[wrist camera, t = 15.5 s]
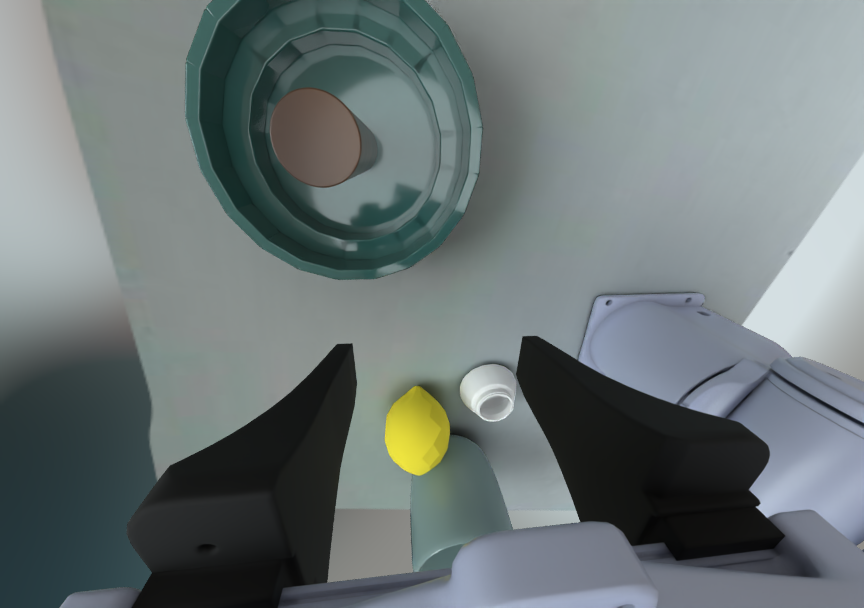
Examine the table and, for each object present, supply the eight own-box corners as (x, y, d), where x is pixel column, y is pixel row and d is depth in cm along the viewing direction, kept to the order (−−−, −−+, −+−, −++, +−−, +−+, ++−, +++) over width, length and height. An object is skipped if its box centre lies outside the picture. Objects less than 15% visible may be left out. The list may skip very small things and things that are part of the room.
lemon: (386, 493, 21) (384, 468, 27) (460, 484, 22) (445, 461, 27) (384, 390, 23) (383, 385, 28) (454, 386, 24) (440, 381, 29)
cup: (497, 430, 30) (540, 546, 21) (465, 480, 33) (490, 600, 24) (425, 414, 28) (439, 534, 19) (397, 469, 31) (398, 595, 22)
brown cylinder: (375, 120, 17) (357, 88, 9) (378, 174, 18) (365, 188, 10) (325, 119, 17) (259, 84, 9) (331, 173, 18) (279, 187, 10)
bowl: (471, 12, 16) (496, -36, 12) (457, 255, 22) (471, 277, 18) (203, -7, 15) (130, -68, 11) (264, 257, 20) (231, 282, 16)
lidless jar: (515, 358, 26) (458, 364, 26) (528, 381, 24) (465, 387, 23) (511, 401, 29) (459, 407, 28) (522, 426, 26) (465, 433, 26)
